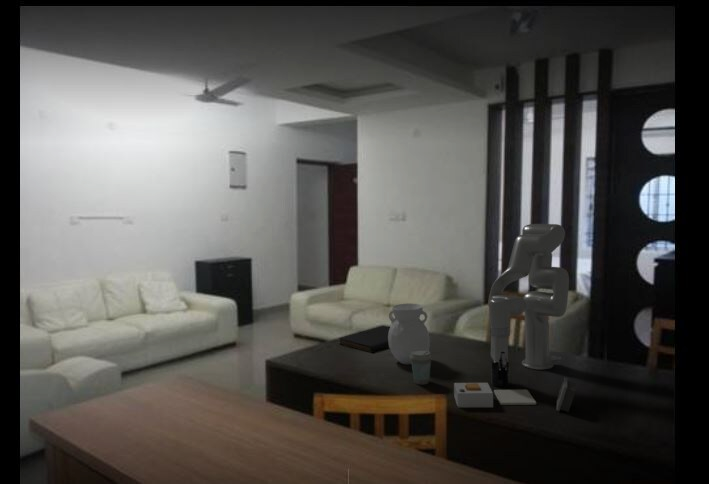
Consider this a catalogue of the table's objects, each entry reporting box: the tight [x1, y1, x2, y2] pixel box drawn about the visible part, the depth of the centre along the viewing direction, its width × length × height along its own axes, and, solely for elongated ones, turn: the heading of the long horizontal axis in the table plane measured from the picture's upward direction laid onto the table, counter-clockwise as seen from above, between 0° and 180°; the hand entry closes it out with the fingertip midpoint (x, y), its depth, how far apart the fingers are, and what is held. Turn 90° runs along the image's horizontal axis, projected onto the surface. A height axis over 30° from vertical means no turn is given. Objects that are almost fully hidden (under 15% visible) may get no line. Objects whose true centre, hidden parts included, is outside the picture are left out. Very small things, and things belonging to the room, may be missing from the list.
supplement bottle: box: [490, 359, 510, 388], centre depth 195 cm, size 7×7×12 cm
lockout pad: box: [493, 389, 537, 406], centre depth 181 cm, size 12×12×1 cm
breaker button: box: [465, 382, 480, 391], centre depth 179 cm, size 4×4×4 cm
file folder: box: [338, 325, 391, 354], centre depth 261 cm, size 33×4×24 cm
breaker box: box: [453, 382, 494, 408], centre depth 179 cm, size 12×10×5 cm
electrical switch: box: [556, 377, 576, 413], centre depth 171 cm, size 9×5×9 cm, turn 158°
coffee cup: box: [410, 350, 433, 386], centre depth 200 cm, size 9×8×12 cm
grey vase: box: [388, 303, 431, 365], centre depth 226 cm, size 19×18×25 cm
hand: (500, 376), depth 195 cm, fingers closed on supplement bottle, 6 cm apart
